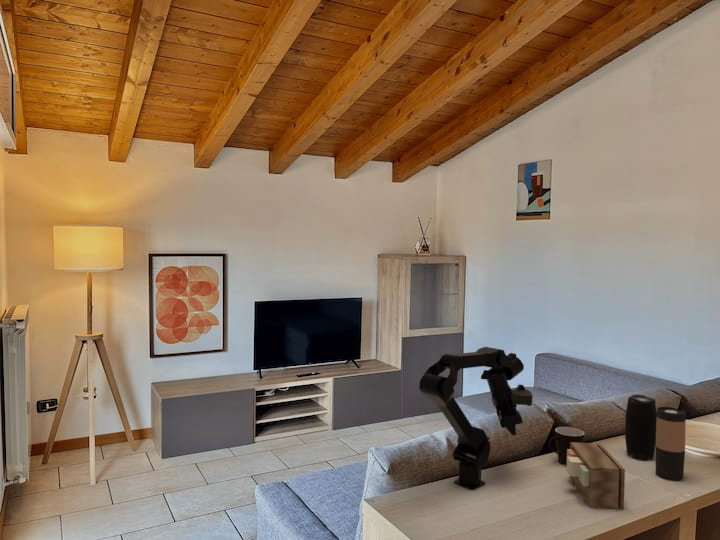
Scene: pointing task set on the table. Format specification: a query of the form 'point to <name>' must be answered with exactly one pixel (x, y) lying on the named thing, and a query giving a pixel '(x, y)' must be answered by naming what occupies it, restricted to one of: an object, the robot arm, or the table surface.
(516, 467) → the table surface
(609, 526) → the table surface
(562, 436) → the coffee mug
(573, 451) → the key terracotta
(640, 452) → the portable speaker
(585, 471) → the key sage
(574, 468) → the key cream
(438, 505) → the table surface
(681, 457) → the travel mug
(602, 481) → the key panel
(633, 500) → the table surface
